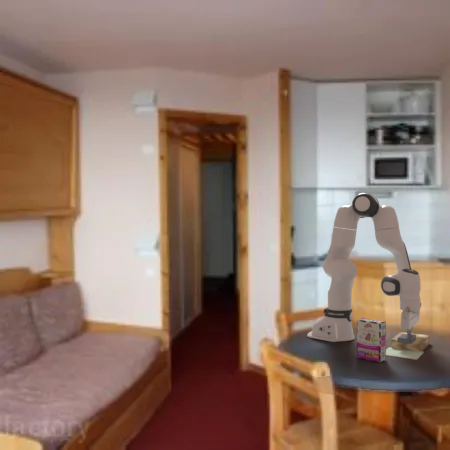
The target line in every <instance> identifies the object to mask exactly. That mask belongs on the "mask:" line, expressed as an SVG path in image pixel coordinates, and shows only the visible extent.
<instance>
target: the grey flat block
mask: <svg viewBox="0 0 450 450" xmlns="http://www.w3.org/2000/svg"><path fill="white" fill-rule="evenodd" d="M415 340H416V335H411V334H401V335H400V336H399V337H398V338H397V342H399V343H407V344H412V343H413V342H414V341H415Z"/></svg>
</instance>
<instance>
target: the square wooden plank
mask: <svg viewBox="0 0 450 450" xmlns="http://www.w3.org/2000/svg"><path fill="white" fill-rule="evenodd" d="M401 334H407V332H402V331H400V332H398V334H396V335H394V337H392V338H391V340H390V342H391V343H390V344H391V346H390V347H391V348H399V349H406V350H414V351H422V352H424V350H425V349H426V348H427V347H428V346H429V345H430V334H429V335H428V334H422V333H421V334H419V333H413V335H416V340H415V341H414V342H413V343H412V344H407V343H399V342H397V338H398V337H399V336H400V335H401Z"/></svg>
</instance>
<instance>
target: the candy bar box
mask: <svg viewBox="0 0 450 450" xmlns="http://www.w3.org/2000/svg"><path fill="white" fill-rule="evenodd" d="M386 343H387V322H386V321H384V320H378V319H371V318H365V317H362V318H359V319H356V359H361V360H364V361H369V362H370V361H371V362H375V363H383V362H385V361H387V356H386V349H387V344H386Z"/></svg>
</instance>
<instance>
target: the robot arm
mask: <svg viewBox="0 0 450 450" xmlns="http://www.w3.org/2000/svg"><path fill="white" fill-rule="evenodd" d="M365 218H370V219H372V222H373V225H374V226H373V227H374V235H375V240H376V242H377V244H378V245H379V246H380V247H381V248H383V249H385V250H387V251H389V252H390V253H391V254H392V255H393V257H394V261H395V264H396V265H395V266H396V269H397V272H396V273H393V274H388V275H386V276H384V277H383V278H382V279H381V282H380V288H381V291H382V293H383V294H384V295H386V296H390V297H395V296H398V297H399V309H400V310H402V312H401V314H400V315H401V316H400V330H403V331H406V333H407V334H411V335H413V334H414V332H413V331H414V326H416V324H418V323H419V320H420V314H421V313H420V312H421V307H422V302H421V295H420V292H421V288H422V287H421V285H422V284H421V276H420V273H419V272H418V271H417V270H416V269H413V268H412V267H411V266H412V265H411V263H410V262H411V261H410V259H409V254H408V251H407V249H408V248H407V245H406V244H405V242H404V241H403V238H402V236H401V231H400V224H399V219H398V215H397V212H396V210H395V208H394V207H393V206H390V205H381V204H380V202H379V200H378V198H377V197H376V196H374V195H373V194H371V193H367V192H361V193H358V194H356V196H354V197H353V199H352V201H351V205H342V206H340V207H338V208H337V210H336V214H335V217H334V222H333V227H332V233H331V234H332V235H331V241H330V246H329V249H328V252H327V254H326V258H325V260H324V261H323V264H322V269H323V272H325V274H326V275H327V276H328V277H329V278H331V279H330V280H331V282H330V285H329V290H328V292H327V306H326V307H325V308H324V309H323V310H322V313H323V316H322V317H320V318H319V319H317V320H316V321H315V322H313V324H312V326H311V331H309V332H308V333H307V338H311V339H315V340H316V339H317V340H321V341H327V342H330V343H336V342H337V343H338V342H348V341H353V340H355V337H356V336H355V335H354V330H353V322H352V321H353V308H352V292H353V291H352V290H353V288H354V281H355V278H356V277H357V275H358V268H357V267H358V266H357V265H356V264H355V263H354V262H353V261H352V260H351V259H349V258H350V255H351V253H352V251H353V249H354V248H355V246H356V244H355V243H356V238H357V229H358V224H359V223H358V222H359V221H360V219H365Z"/></svg>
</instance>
